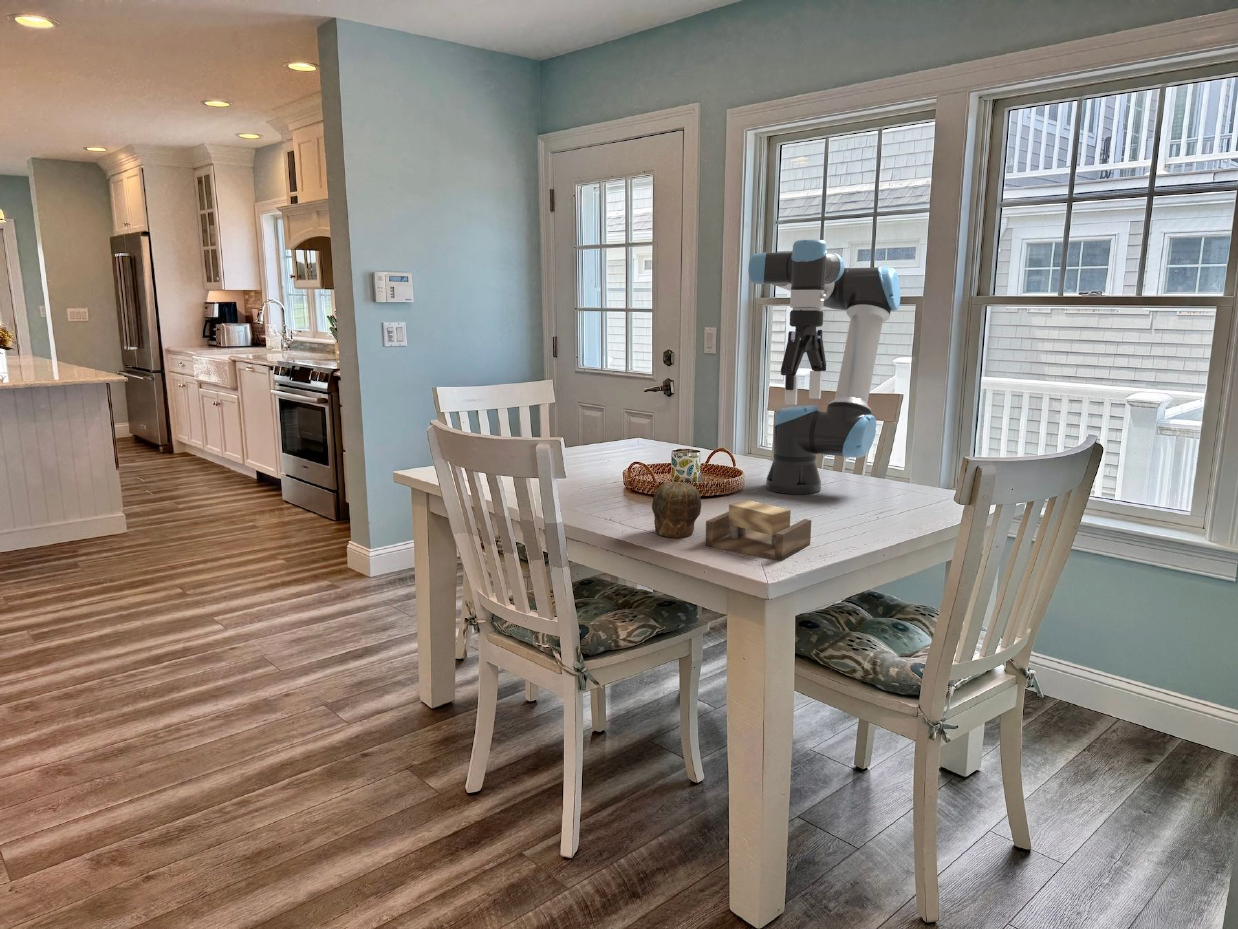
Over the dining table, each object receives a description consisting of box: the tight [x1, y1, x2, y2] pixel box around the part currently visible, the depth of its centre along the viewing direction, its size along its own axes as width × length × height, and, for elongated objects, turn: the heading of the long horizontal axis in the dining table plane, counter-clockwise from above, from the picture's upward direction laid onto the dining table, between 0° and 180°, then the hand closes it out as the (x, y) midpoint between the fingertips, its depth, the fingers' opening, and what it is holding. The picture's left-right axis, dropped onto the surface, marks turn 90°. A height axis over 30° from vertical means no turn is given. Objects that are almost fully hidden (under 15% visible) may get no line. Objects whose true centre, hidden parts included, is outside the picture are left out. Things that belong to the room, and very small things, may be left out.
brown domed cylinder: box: [651, 481, 702, 539], centre depth 188 cm, size 11×11×12 cm
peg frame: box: [705, 511, 812, 562], centre depth 180 cm, size 18×14×6 cm
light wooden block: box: [728, 499, 792, 536], centre depth 179 cm, size 12×6×4 cm, turn 40°
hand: (802, 401), depth 195 cm, fingers open, 13 cm apart
